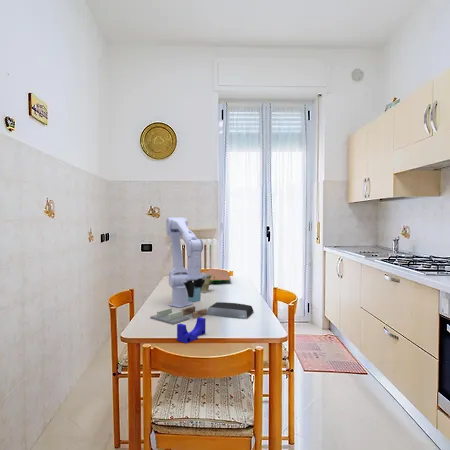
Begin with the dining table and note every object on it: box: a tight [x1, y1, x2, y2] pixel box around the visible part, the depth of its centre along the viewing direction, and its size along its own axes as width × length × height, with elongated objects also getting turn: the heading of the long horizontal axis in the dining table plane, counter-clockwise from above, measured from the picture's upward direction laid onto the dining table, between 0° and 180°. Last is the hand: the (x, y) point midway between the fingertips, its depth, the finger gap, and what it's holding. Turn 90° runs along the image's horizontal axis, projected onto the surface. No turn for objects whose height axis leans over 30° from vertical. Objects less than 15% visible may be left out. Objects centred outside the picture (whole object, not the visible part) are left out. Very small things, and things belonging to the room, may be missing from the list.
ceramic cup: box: [201, 273, 215, 294], centre depth 209 cm, size 13×10×10 cm
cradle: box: [181, 305, 208, 319], centre depth 161 cm, size 8×8×2 cm
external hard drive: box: [205, 301, 255, 320], centre depth 164 cm, size 13×19×4 cm
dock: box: [149, 307, 191, 326], centre depth 154 cm, size 10×14×3 cm
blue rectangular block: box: [188, 286, 202, 303], centre depth 161 cm, size 4×4×6 cm
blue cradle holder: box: [176, 316, 207, 344], centre depth 131 cm, size 12×4×6 cm, turn 142°
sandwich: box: [201, 268, 232, 285], centre depth 246 cm, size 23×33×8 cm
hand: (194, 296), depth 161 cm, fingers closed on blue rectangular block, 4 cm apart
